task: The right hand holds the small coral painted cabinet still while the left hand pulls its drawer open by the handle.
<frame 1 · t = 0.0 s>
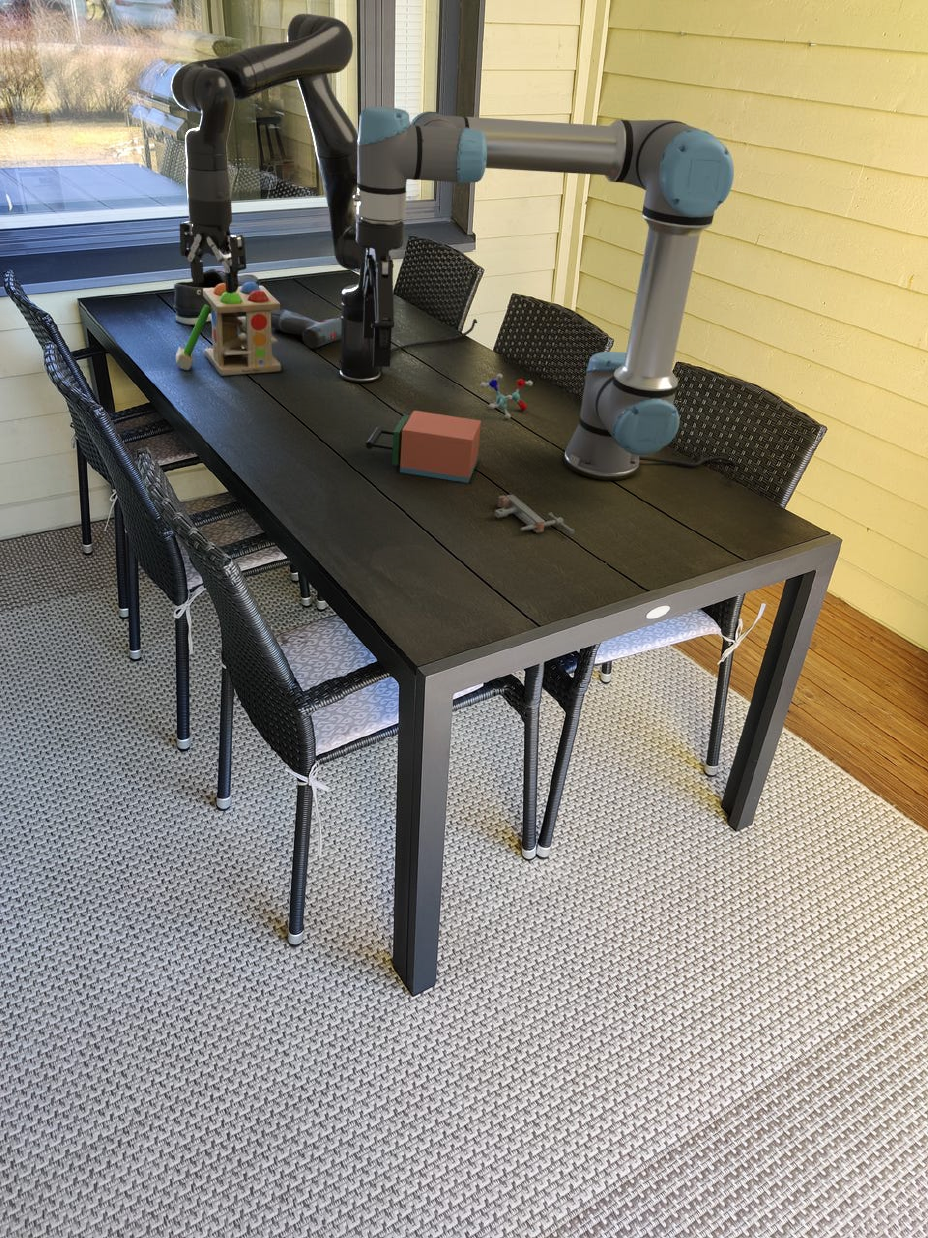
left hand: (214, 287, 183), 29 cm above the table, tool pointing down, fingers open, 8 cm apart
right hand: (376, 351, 165), 28 cm above the table, tool pointing down, fingers open, 13 cm apart
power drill: (311, 334, 253), on the table
boat shoe: (220, 309, 264), on the table
molecular model: (502, 411, 221), on the table
pounding bench toy: (225, 365, 230), on the table
drawer: (415, 442, 193), point 4 cm above the table, slide at 0.6 cm
cabinet: (439, 466, 195), on the table
clamp: (528, 523, 178), on the table
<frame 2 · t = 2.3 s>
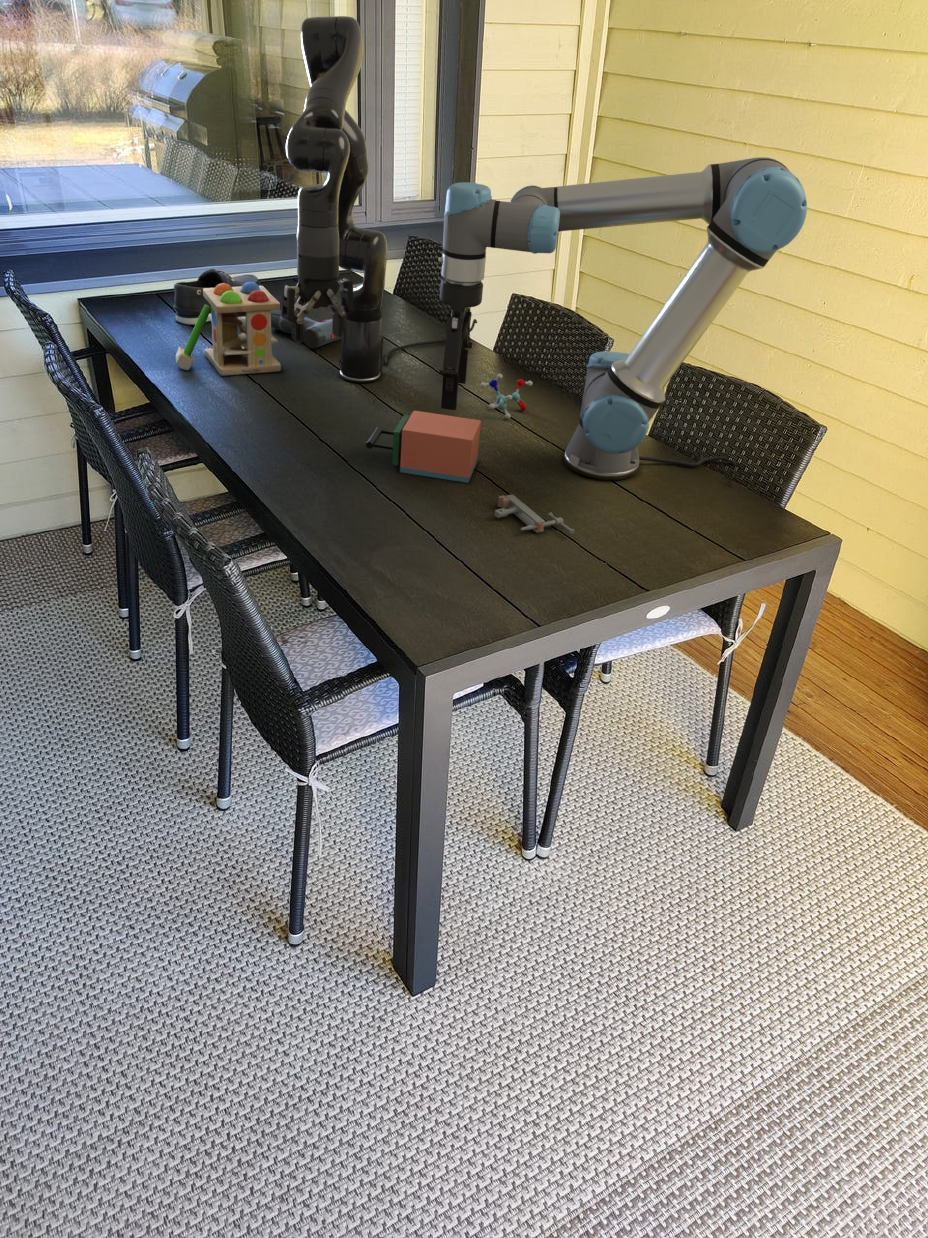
left hand: (318, 338, 185), 22 cm above the table, tool pointing down, fingers open, 8 cm apart
right hand: (453, 395, 183), 16 cm above the table, tool pointing down, fingers open, 13 cm apart
nothing on the table moved.
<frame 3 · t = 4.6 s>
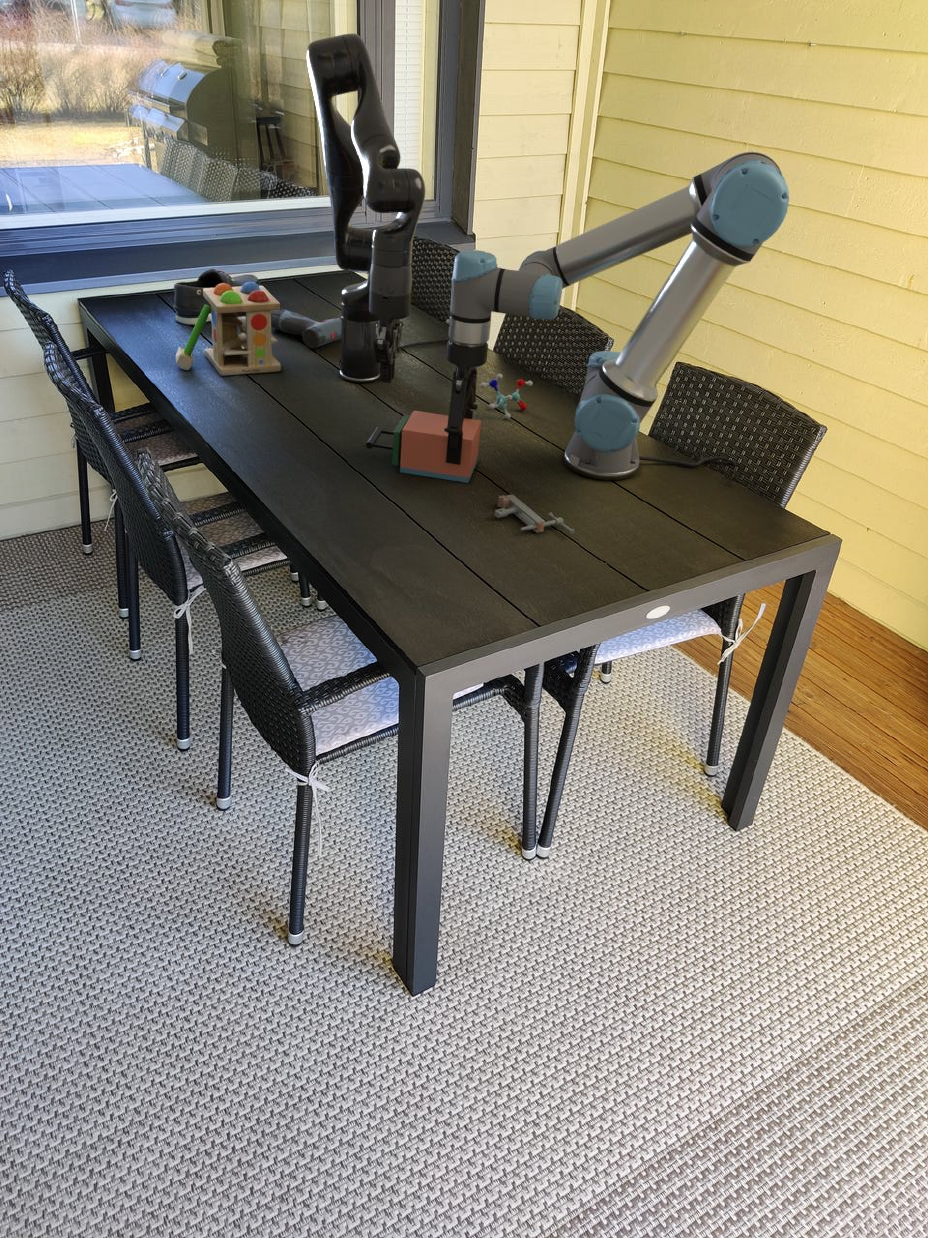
left hand: (386, 379, 187), 16 cm above the table, tool pointing down, fingers closed
right hand: (458, 451, 192), 4 cm above the table, tool pointing down, fingers closed on cabinet, 10 cm apart
cabinet: (439, 466, 195), on the table, touching right hand
everything else where it was.
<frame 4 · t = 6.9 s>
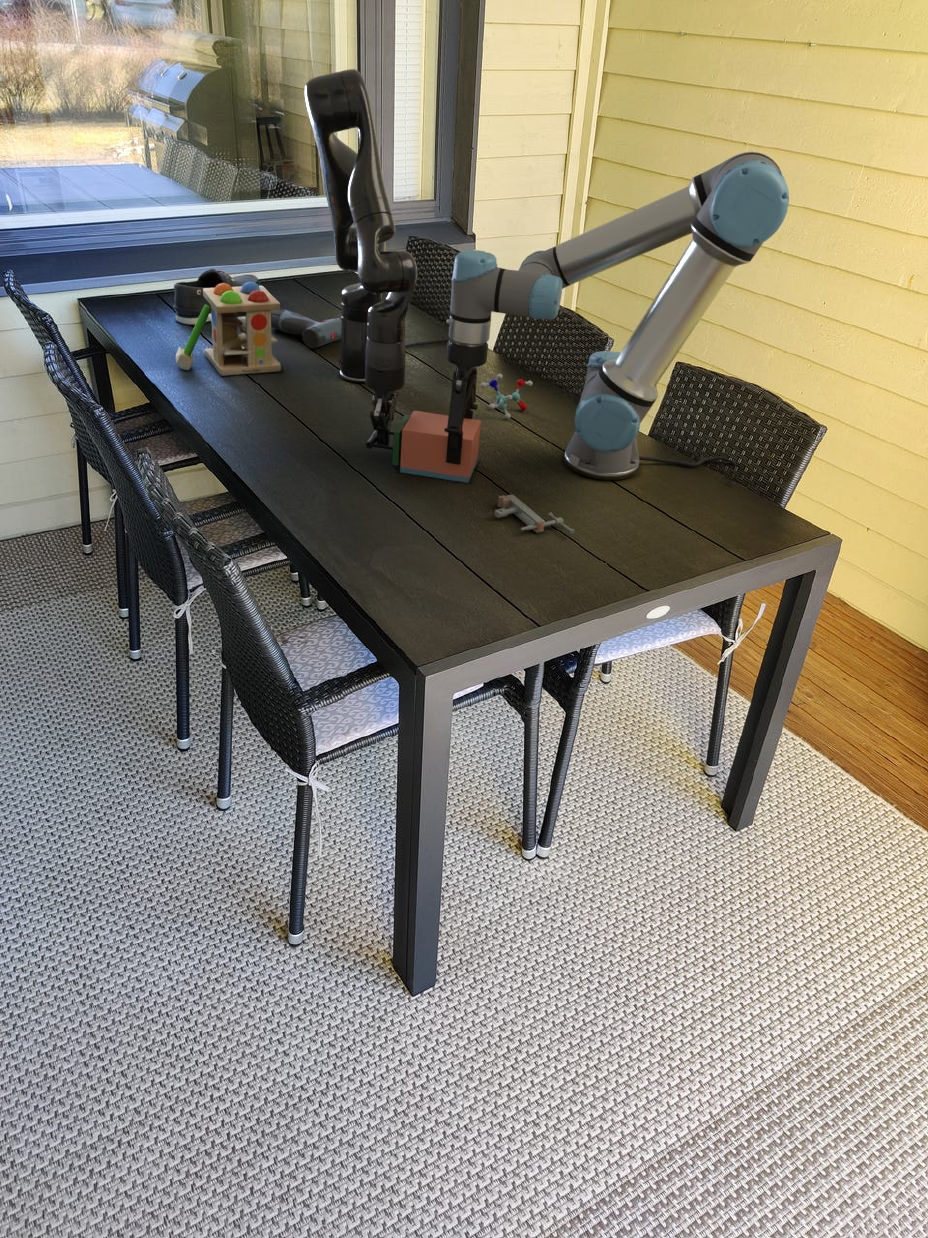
left hand: (383, 446, 195), 3 cm above the table, tool pointing down, fingers closed
right hand: (458, 451, 192), 4 cm above the table, tool pointing down, fingers closed on cabinet, 10 cm apart
drawer: (415, 442, 193), point 4 cm above the table, slide at 0.6 cm, touching left hand
cabinet: (439, 466, 195), on the table, touching right hand
everything else where it was.
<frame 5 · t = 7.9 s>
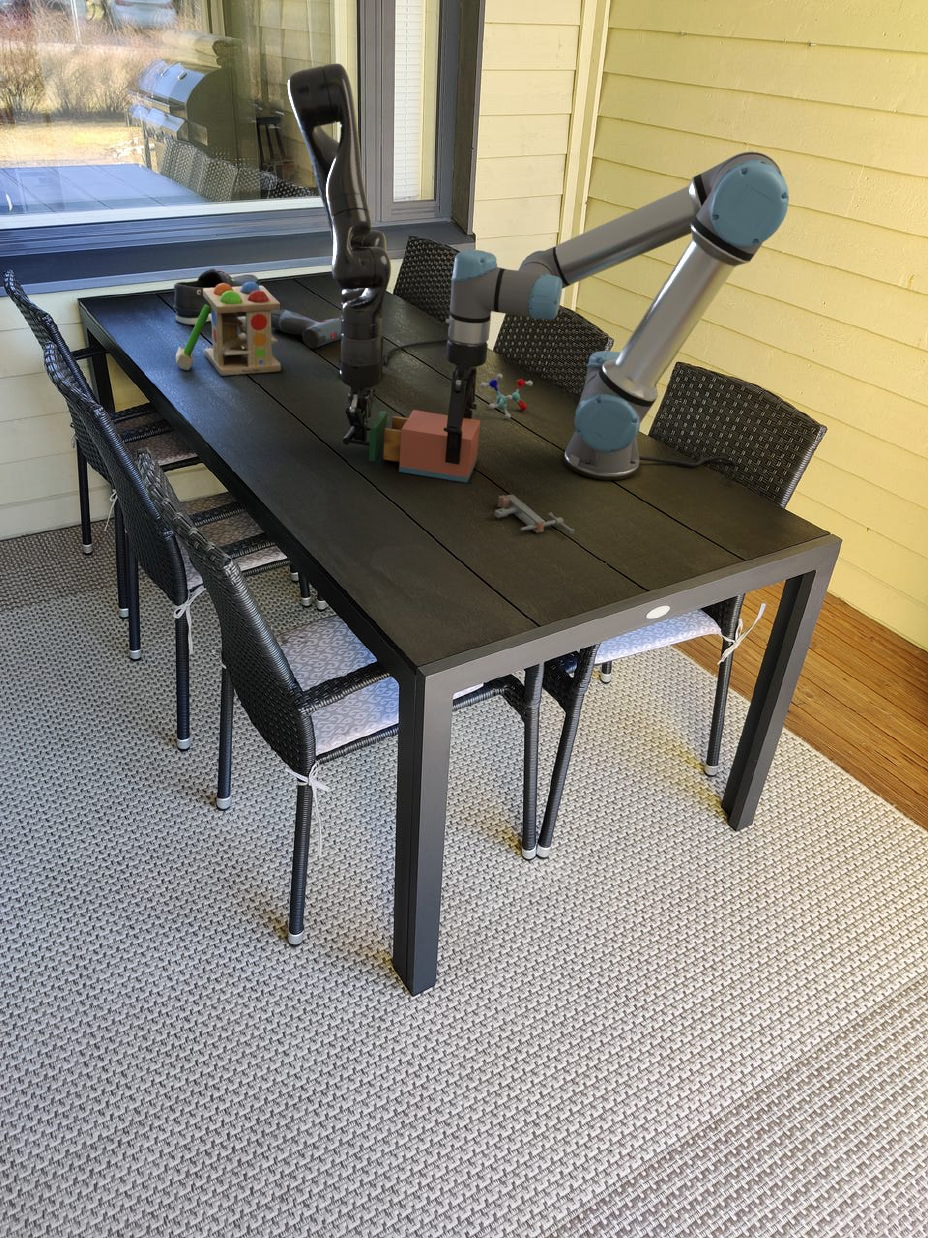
left hand: (360, 442, 195), 3 cm above the table, tool pointing down, fingers closed
right hand: (457, 451, 192), 4 cm above the table, tool pointing down, fingers closed on cabinet, 10 cm apart
drawer: (392, 438, 193), point 5 cm above the table, slide at 5.1 cm, touching left hand
cabinet: (438, 466, 195), on the table, touching right hand
everything else where it was.
when the right hand's fingers open (4 cm above the table, at t = 9.9 s): cabinet stays where it is, on the table.
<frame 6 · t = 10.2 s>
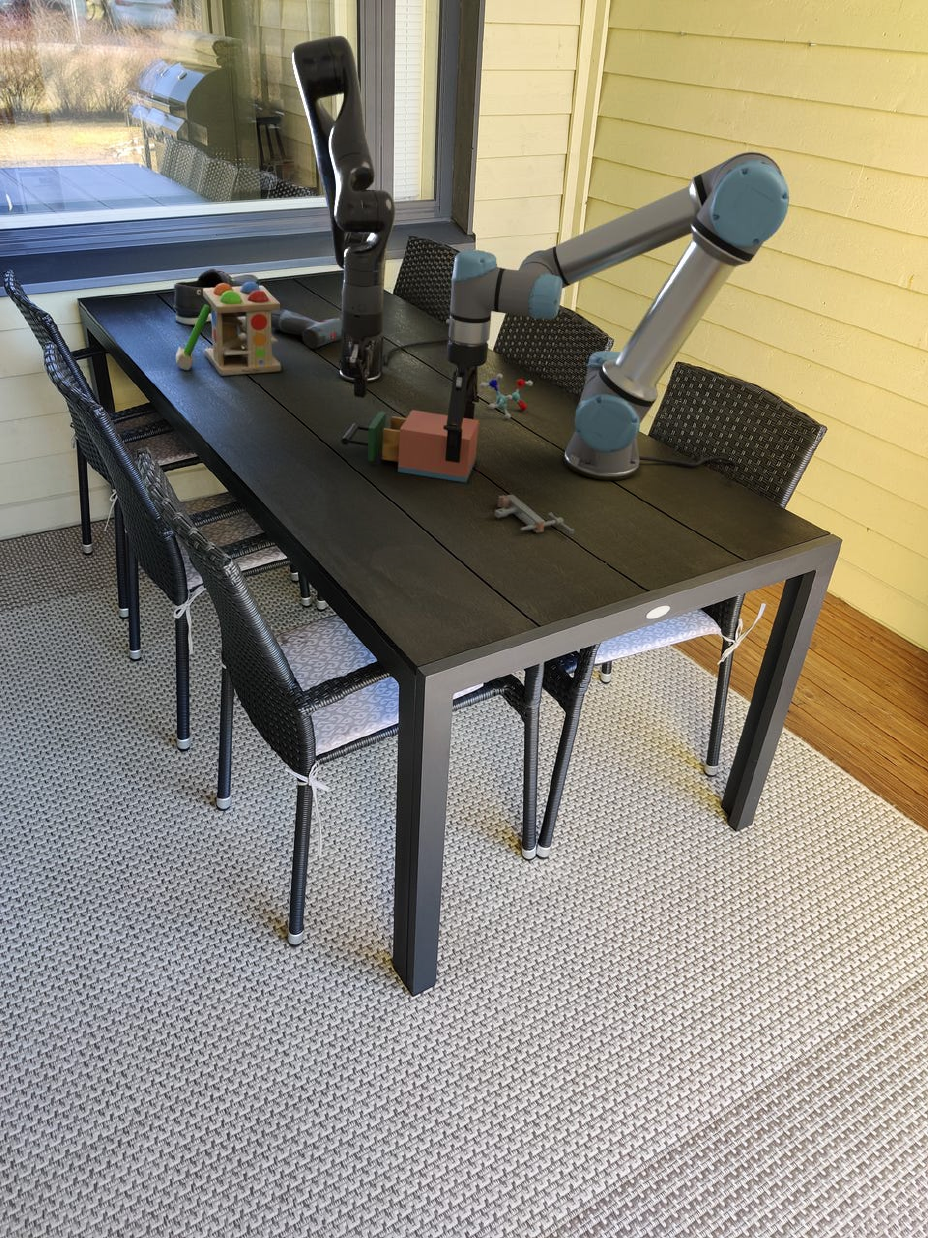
left hand: (360, 395, 190), 12 cm above the table, tool pointing down, fingers closed
right hand: (459, 447, 192), 5 cm above the table, tool pointing down, fingers open, 13 cm apart
drawer: (390, 438, 193), point 4 cm above the table, slide at 5.1 cm
cabinet: (437, 466, 195), on the table
everything else where it was.
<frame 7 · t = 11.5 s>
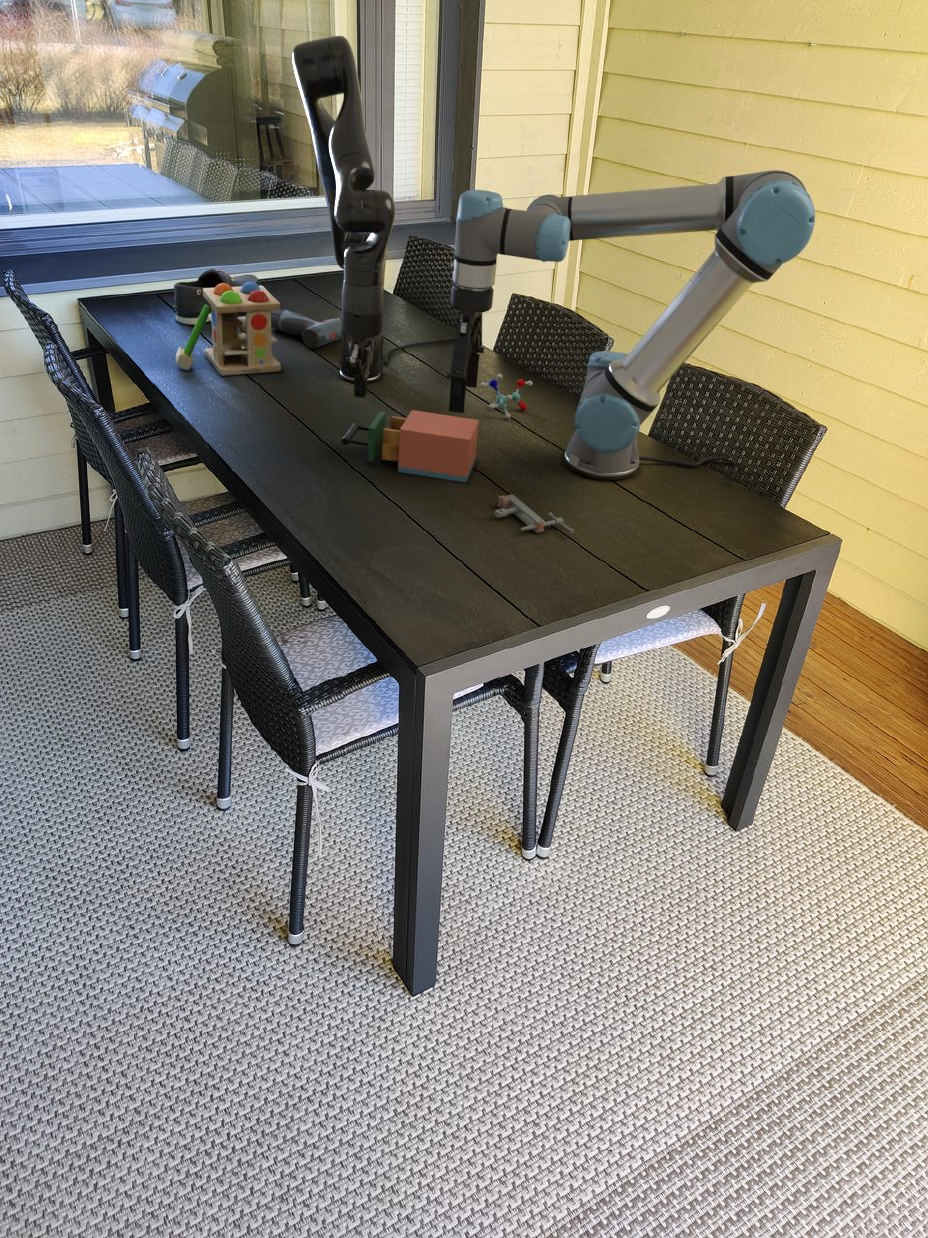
left hand: (360, 395, 190), 12 cm above the table, tool pointing down, fingers closed
right hand: (463, 398, 186), 15 cm above the table, tool pointing down, fingers open, 13 cm apart
nothing on the table moved.
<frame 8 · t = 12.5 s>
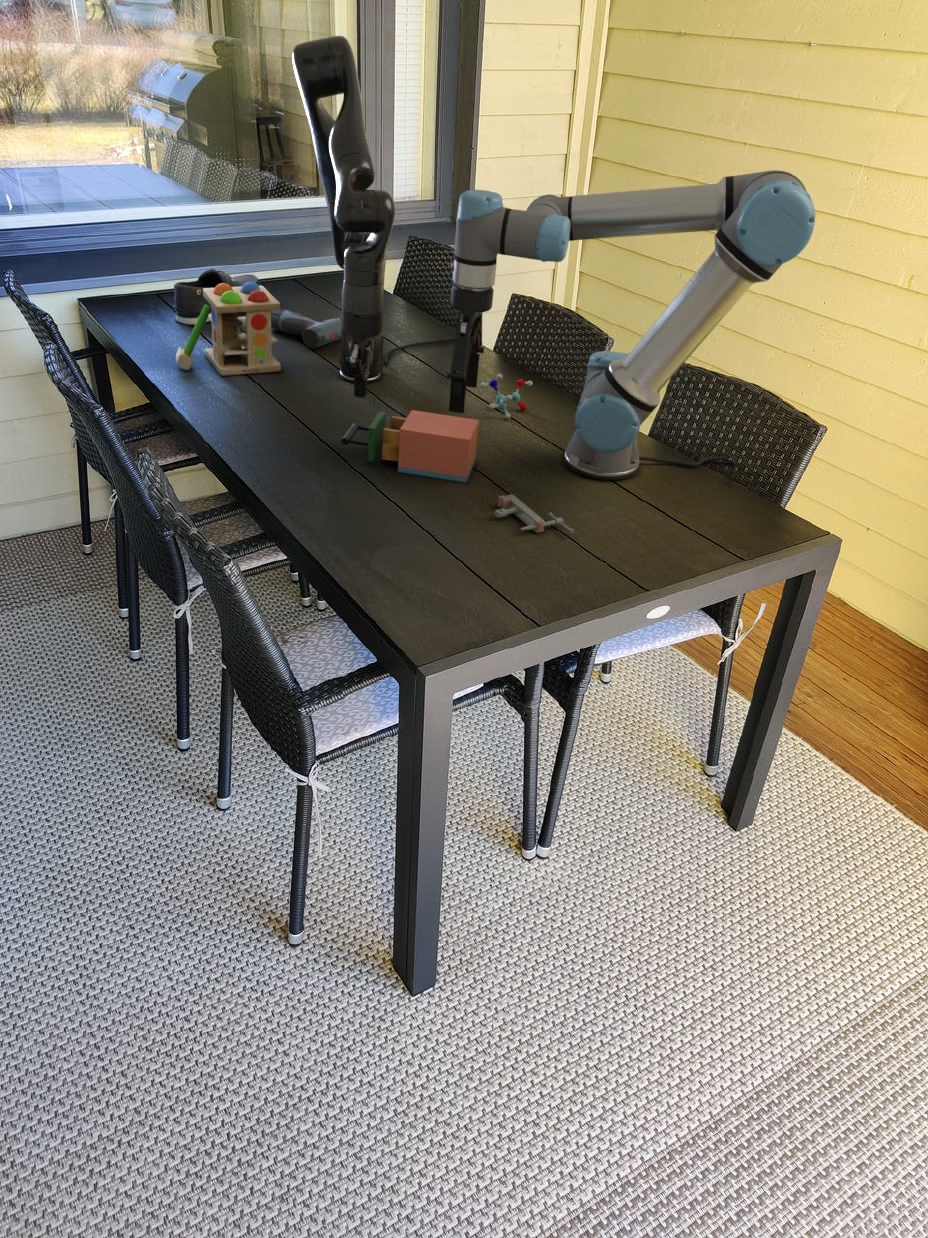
left hand: (360, 395, 190), 12 cm above the table, tool pointing down, fingers closed
right hand: (463, 398, 186), 15 cm above the table, tool pointing down, fingers open, 13 cm apart
nothing on the table moved.
at the end: drawer slide at 5.1 cm; cabinet tilted 0°; cabinet never tilted more than 3° during the clip; cabinet moved 0.4 cm from its start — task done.
